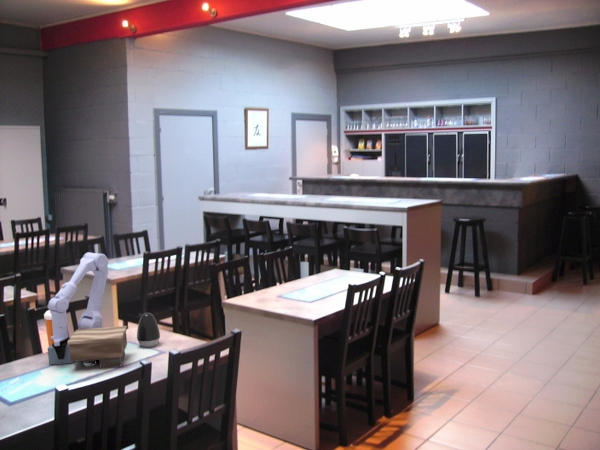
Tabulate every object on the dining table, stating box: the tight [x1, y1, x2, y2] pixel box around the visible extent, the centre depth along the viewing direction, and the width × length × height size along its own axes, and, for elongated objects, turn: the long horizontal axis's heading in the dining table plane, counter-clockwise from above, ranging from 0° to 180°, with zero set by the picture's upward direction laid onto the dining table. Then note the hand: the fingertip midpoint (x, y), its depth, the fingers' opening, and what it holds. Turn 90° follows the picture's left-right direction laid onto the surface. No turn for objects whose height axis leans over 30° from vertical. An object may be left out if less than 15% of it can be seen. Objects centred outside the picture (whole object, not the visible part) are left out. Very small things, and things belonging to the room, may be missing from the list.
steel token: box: [82, 359, 96, 367], centre depth 261 cm, size 5×5×2 cm
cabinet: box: [67, 325, 128, 369], centre depth 260 cm, size 17×21×13 cm
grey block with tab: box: [47, 344, 99, 366], centre depth 263 cm, size 4×21×7 cm, turn 98°
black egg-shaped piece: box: [136, 312, 161, 348], centre depth 281 cm, size 10×10×15 cm
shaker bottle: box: [43, 309, 54, 347], centre depth 278 cm, size 9×9×20 cm
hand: (62, 357), depth 263 cm, fingers closed on grey block with tab, 4 cm apart
